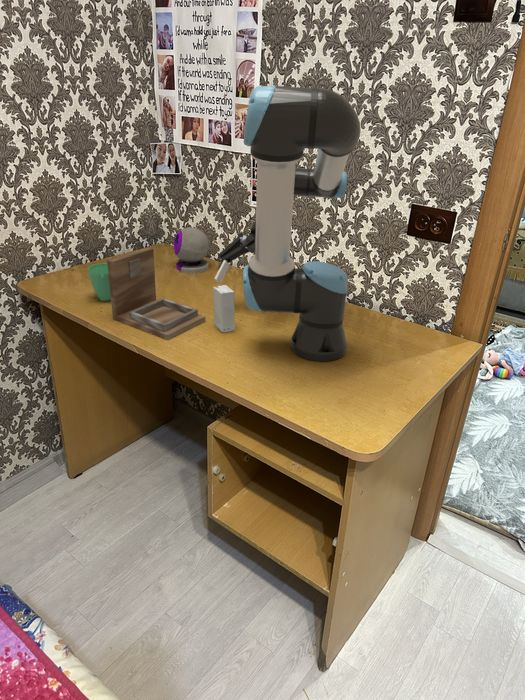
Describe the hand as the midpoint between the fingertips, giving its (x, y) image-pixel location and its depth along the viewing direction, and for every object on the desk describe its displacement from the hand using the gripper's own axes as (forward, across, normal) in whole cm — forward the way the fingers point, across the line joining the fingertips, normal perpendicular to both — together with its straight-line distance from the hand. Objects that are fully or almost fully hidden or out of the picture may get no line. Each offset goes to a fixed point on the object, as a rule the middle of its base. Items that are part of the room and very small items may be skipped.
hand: (235, 286), depth 154 cm
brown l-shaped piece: (+18, +17, +3) cm, 25 cm away
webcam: (-12, +41, -27) cm, 51 cm away
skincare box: (+12, -1, -3) cm, 13 cm away
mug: (+15, +41, 0) cm, 44 cm away
